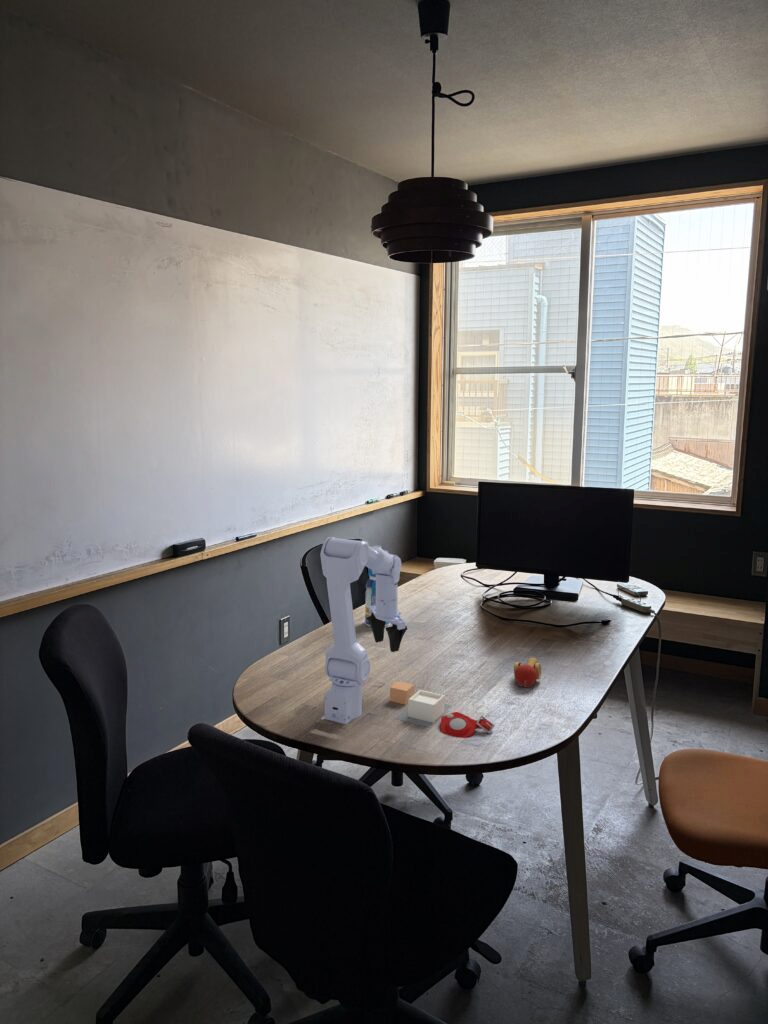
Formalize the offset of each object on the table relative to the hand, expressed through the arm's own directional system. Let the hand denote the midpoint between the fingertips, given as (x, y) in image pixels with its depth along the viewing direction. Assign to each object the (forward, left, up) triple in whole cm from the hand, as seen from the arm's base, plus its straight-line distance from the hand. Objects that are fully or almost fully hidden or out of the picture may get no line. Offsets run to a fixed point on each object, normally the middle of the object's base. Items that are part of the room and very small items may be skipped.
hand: (386, 646), depth 203 cm
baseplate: (-13, -17, -10) cm, 24 cm away
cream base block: (-14, -18, -10) cm, 25 cm away
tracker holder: (-17, -30, -11) cm, 36 cm away
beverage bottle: (+44, +26, -11) cm, 52 cm away
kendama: (+24, -32, -11) cm, 42 cm away
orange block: (-9, -9, -11) cm, 17 cm away
